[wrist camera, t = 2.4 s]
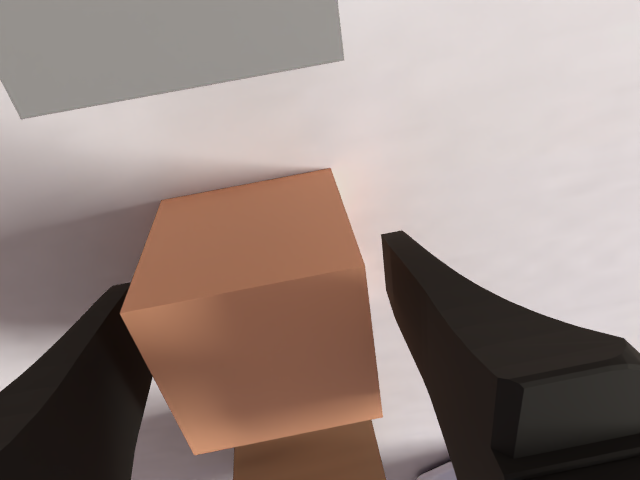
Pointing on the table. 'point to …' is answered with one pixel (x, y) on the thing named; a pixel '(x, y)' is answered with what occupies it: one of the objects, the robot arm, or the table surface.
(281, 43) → the slate grey block
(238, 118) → the table surface
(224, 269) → the terracotta block
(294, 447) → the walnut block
